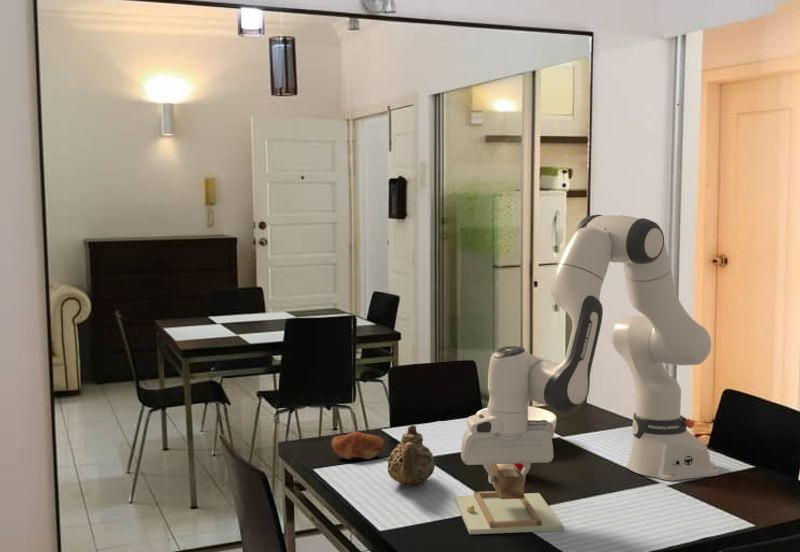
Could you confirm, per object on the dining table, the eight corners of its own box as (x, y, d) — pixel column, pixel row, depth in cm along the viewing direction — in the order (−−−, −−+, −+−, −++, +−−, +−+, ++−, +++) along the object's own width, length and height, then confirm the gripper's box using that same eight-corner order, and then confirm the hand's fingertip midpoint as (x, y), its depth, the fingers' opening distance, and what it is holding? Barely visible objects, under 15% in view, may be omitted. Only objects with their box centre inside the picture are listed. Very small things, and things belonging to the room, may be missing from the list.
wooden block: (511, 480, 202) (512, 459, 201) (524, 498, 190) (524, 477, 189) (490, 480, 201) (490, 460, 201) (501, 499, 189) (501, 477, 189)
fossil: (324, 447, 234) (343, 414, 236) (333, 452, 242) (352, 420, 244) (363, 470, 230) (382, 436, 232) (371, 475, 237) (390, 442, 239)
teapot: (389, 470, 226) (389, 413, 224) (434, 471, 225) (434, 413, 224) (385, 500, 205) (385, 437, 203) (435, 501, 204) (435, 438, 203)
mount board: (539, 497, 207) (539, 488, 207) (562, 530, 187) (563, 520, 187) (454, 500, 205) (454, 490, 205) (469, 534, 185) (469, 524, 185)
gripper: (550, 416, 198) (549, 475, 199) (459, 418, 196) (459, 478, 197) (557, 423, 192) (556, 485, 193) (464, 426, 190) (464, 488, 191)
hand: (506, 482), depth 195 cm, fingers closed on wooden block, 5 cm apart
